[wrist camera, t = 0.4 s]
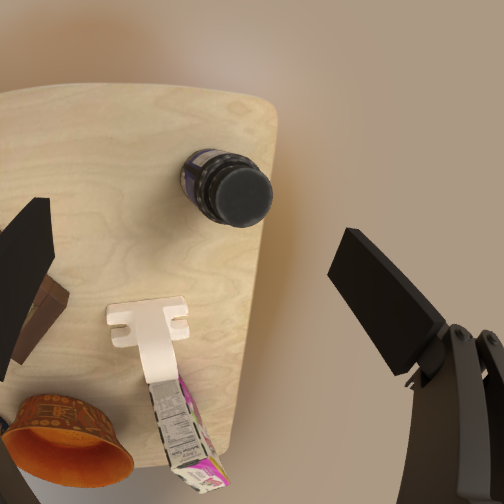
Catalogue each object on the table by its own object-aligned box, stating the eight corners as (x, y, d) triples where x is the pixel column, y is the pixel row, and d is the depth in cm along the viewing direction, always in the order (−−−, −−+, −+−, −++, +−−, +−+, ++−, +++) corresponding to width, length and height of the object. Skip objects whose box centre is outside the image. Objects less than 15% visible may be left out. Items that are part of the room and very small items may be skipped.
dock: (-43, 294, 22) (-51, 306, 20) (-6, 223, 23) (-17, 232, 20) (25, 350, 29) (21, 365, 27) (69, 292, 29) (66, 307, 27)
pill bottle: (220, 210, 33) (261, 247, 24) (170, 193, 30) (191, 224, 21) (242, 160, 32) (293, 177, 23) (193, 139, 29) (226, 144, 20)
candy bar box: (197, 403, 45) (232, 484, 31) (170, 412, 43) (199, 495, 30) (175, 362, 39) (210, 459, 26) (144, 373, 38) (168, 472, 24)
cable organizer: (186, 328, 38) (207, 383, 29) (113, 338, 34) (118, 397, 26) (184, 295, 36) (206, 347, 27) (105, 305, 32) (105, 362, 24)
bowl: (148, 426, 43) (160, 473, 34) (64, 454, 38) (68, 495, 30) (71, 353, 32) (67, 411, 24) (-14, 392, 28) (-24, 440, 19)
